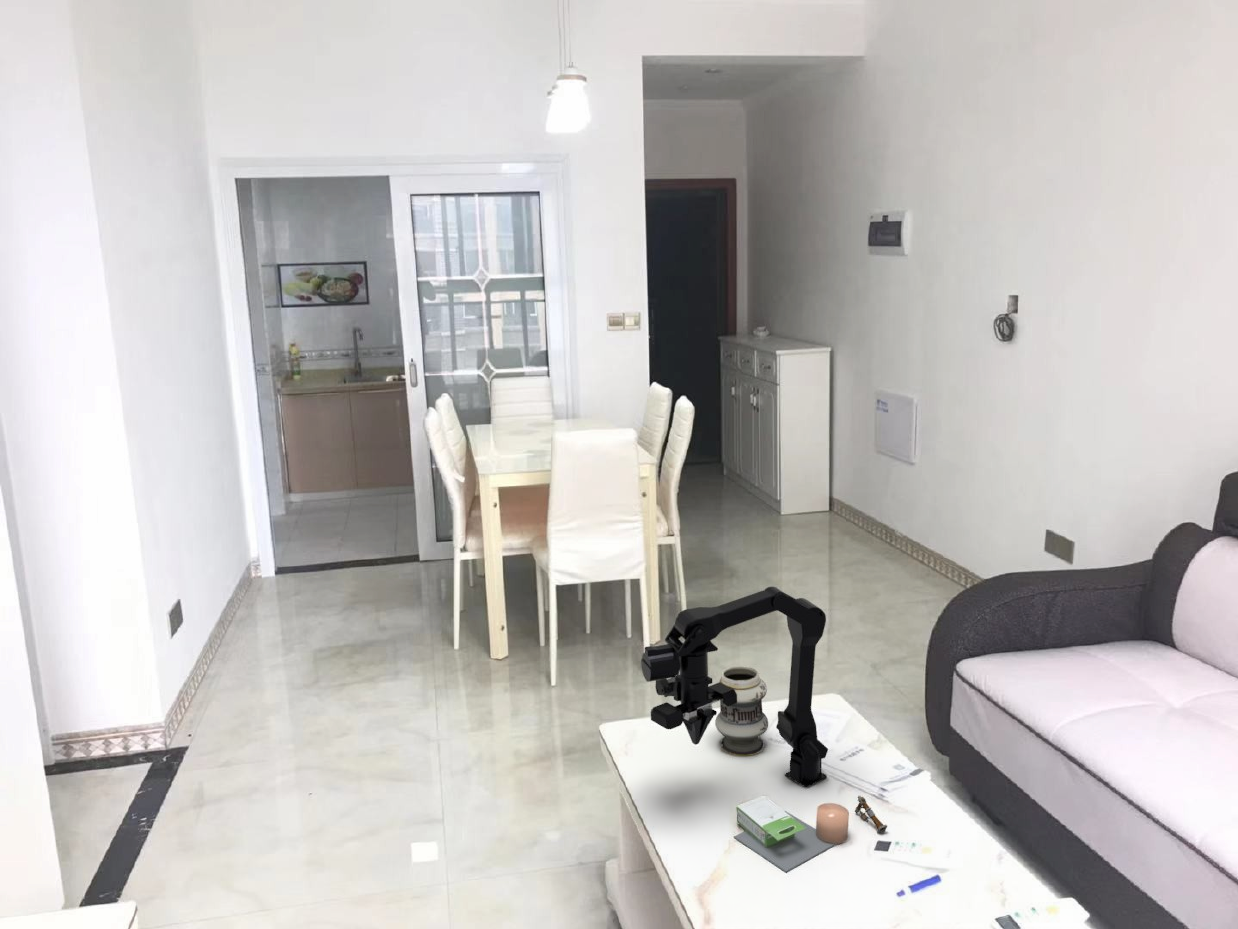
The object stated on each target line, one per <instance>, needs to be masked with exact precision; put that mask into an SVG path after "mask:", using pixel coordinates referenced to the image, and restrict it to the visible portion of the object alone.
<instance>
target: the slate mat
mask: <svg viewBox="0 0 1238 929" xmlns="http://www.w3.org/2000/svg"><path fill="white" fill-rule="evenodd" d="M784 811H785V812H786V813H787V814H789V815H790V816H791V817H792V818H794V820H796V821H797V822H798V823H800V824H801V825H803V826H804V827H805V828H806V829H804V830H801V831H799V832H797V833H794V836H793V837H791V838H788V839H786V840H783V841H781V842H778V843H776V844H773V845H771V846H768V847H765V846H764V845H763V844H761V843H760V842H759V841H758V840H757V839H756V838H755V837H753V836H752V835H751V834H750V833H749V832H748V831H746V830H744V831H742V832H740V833H738V834H736V835H734V836H733V839H734V840H736V841H737V842H740V843H741V844H742V845H744V846H745V847H746V848H748V849H750V850H751V851H753V852H754V853H756V854H757V855H758V856H760V857H762V858H763V859H765V860H766V861H768V862H770V863H771V864H772V865H774V866H776V867H777V868H779V869H780V870H781V871H783V872H784V873H785V874H787V873H789V872H790V871H792V870H793V869H796V868H797V867H799V866H801V865H802V864H805V863H806V862H808V861H810V860H812V859H814V858H815V857H817V856H819V855H821V854H823V853H824V852H826V851H828V850H830V849H831V848H834V847H835V846H836V845H838V844H833V843H827V842H824V841H822V840H820V839H819V838H818V837H817V836H816V827H813V826H812V825H810V824H808V823H806V822H805V821H803V820H802V819H800V818H798V817H797V816H795V815H793V814H791V813H789V812H788V811H786V810H784ZM794 828H795V827H794Z"/></svg>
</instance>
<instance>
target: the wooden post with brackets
mask: <svg viewBox="0 0 1238 929" xmlns="http://www.w3.org/2000/svg"><path fill="white" fill-rule="evenodd" d="M857 799H858V800H857V801H858V805H857V806H856V807H855V810H854V813H855V814H858V813H859V818H861V820H862V821H863V822H866V823H868V822H869V819H870V820H871V821H872V823H873V824H874V826H875V828H876V830H877V831H876V833H877V834H879V833H881V832H886V830H887V828H888V825H887V824H884V823H882V822H881V820H880V819H878V817H877V816H876V814H875V813H874V811H873V809H872V807H870V806H869V805H868V803H867V800H866V799H865V797H864V796H861V795H858V796H857ZM861 809H864V812H863V811H861Z"/></svg>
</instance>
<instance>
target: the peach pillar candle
mask: <svg viewBox="0 0 1238 929" xmlns="http://www.w3.org/2000/svg"><path fill="white" fill-rule="evenodd" d="M849 819H850V812H849V810H848V809H847V808H846V807H845V806H843V805H841V804H839V803H832V802H826V803H822V804H819V805H818V806H817V808H816V820H815V824H816V826H815V829H816V836H817V837H818V838H819V839H820V840H822V841H824V842H827V843H833V844H837V845H838V844H841V843H842V844H843V843H845V842H846V841H847V840H848V835H849Z"/></svg>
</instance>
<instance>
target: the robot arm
mask: <svg viewBox="0 0 1238 929" xmlns="http://www.w3.org/2000/svg"><path fill="white" fill-rule="evenodd" d="M774 612H779V613H782V614H783V615H785V616H786V622H787V627H788V628H787V629H788V631H789V634H790V638H791V641H792V642H791V643H792V645H791V646H792V648H791V659H790V660H791V661H790V676H789V677H790V678H789V689H788V690H789V691H788V704H787V706H786V707H785V709H784V711H781V710H780V711H779V710H778V711H777V724H776V729H777V731H778V733H779V735H780V737H782V739H783V740H785V742H786V743H787V745H788V746H790V747H791V748H792V751H790V759H789V771H787V772H785V774H784V775H785V777H787V778H788V779H790V780H792V781H793V782H795V783H797V784H799V785H801V786H803V787H804V788H809V787H811V786H814V785H816V784H817V783H819V782H822V781H824V780H826V779H827V778H828V775H827V774H825V773H824V772H822V760H823V759H826V757H827V755H828V751H829V748H828V747H827V746H826V745H825V744H824V743H822V742H821V741H820V740H819V738H818V733H817V732H818V731H817V724H816V723H817V722H816V721H815V717H814V715H813V712H812V701H813V687H814V673H815V662H816V661H815V660H816V659H815V658H816V648H817V645H818V643H819V641H820V640H821V638H822V637H823V636H824V631H825V627H826V623H827V616H826V613H825V612H824V611H823V610H822V609H821V608H820V607H819V606H817V605H815V604H814V603H813V602H811V601H810V600H808V599H807V598H803V597H799V598H795V597H793V596H791V595H789V594H787V593H786V592H784V591H783V590H781V589H779V588H778V587H777V586H768V587H765V589H763V590H761V591H758V592H755V593H752V594H749V595H746V596H744V597H740V598H738V599H735V600H732V601H729V602H726V603H723V604H721V605H717V606H710V607H706V606H704V607H703V606H699V607H693V608H687V609H684V610H682V611H680V612H679V613H678V614H677V616H676V618H675V621H674V624H673V626H672V628H671V629H670V631H669V632H668V634H667V636H665V638H664V642H665V643H666V644H662V645H656V646H655V645H649V646H645V647H644V652H643V653H642V657H641V659H640V664H641V665H640V666H641V670H642V675H643V677H644V680H645V681H646V682H655V691H656V694H657V695H658V696H663V697H664V698H667V697H673V700H674V701H676V702H680V704H677V705H675V706H674V705H672V704H671V703H669V702H667V701H666V702H664V703H661V704H658V705H656V706H653V707H652V708H651V709H650V721H652V722H653V723H655V724H657V725H659V726H660V727H663V728H664V729H666V730H672V729H676V728H678V727H680V726H682V724H683V725H684V726H685V728H686V730H687V733H688V736H689V738H690V741H691V743H692V744H693V745H695V746H696V745H699V744H700V741H701V740H702V738H703V736H704V734H705V732H706V730H707V728H708V727H709V725H710V723H711V721H712V720H713V718H714V717H715V716H717V715H718V713H717V712H718V711H717V710H715V709H713V704H715V703H717V702H720V700H721V699H723V704H725V705H726V706H731V705H733V704H736V703H737V693H736V691H735V690H734V689H733V688H730V687H728V686H726V685H724V684H722V683H720V682H719V683H717V682H715V683H714V684H713V678H712V677H710V676H709V660H708V659H709V657H708V655H709V654H708V653H713V652H717V651H718V650H719V648H718V647H717V645H715V644H714V642H712V640H714V639H716V638H717V637H718V636H719V635H720V633H721V632H723V631H724V630H727V629H728V628H731V627H734V626H737V625H739V624H742V623H745V622H748V621H751V620H754V619H756V618H759V617H762V616H765V615H768V614H770V613H774ZM680 638H682V639H683V640H684V642H682V641H681V640H680Z"/></svg>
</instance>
